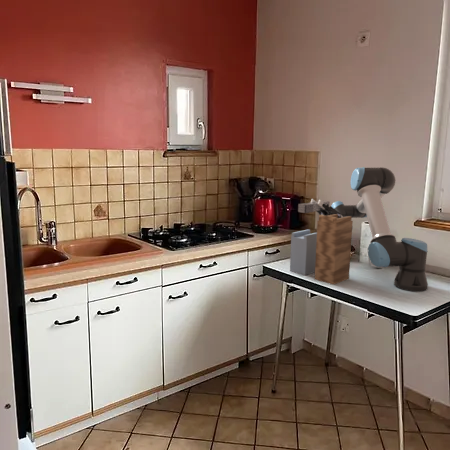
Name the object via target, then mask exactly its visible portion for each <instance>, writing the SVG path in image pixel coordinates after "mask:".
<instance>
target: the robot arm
mask: <svg viewBox="0 0 450 450" xmlns="http://www.w3.org/2000/svg"><path fill="white" fill-rule="evenodd" d="M395 186H396V177H395V173H393V171H392V170H391V169H389V168H386V167H383V166H382V167H364V166H363V167H356V168H355V169H354V170H353V171H352V173H351V176H350V187H351V189H352V190H353V191H356V193H357V196H358V197H360V198H361V199H360V200H359V201H358V203H357V204H355V205H354V204H353V205H351V204H348V205H347V204H344V202H343V201H340V200H339V201H338V200H337V201H334V202H333V203H332V204H331V206H330V205H329V204H327V205H326V204H324V203H323V202H322V201H323V200H321V199H318V201H316V200H315V199H314V198H311V201H310V202H309V203H311V202H318V205H319V206H320V207H321V208H322V209H325V210H319V211H316V213H317V214H318V216H319V215H324V216H328V215H333V214H338V218H342V217H347V216H351V217H352V219H353V218H355V219H357V218H358V219H359V218H361V219H364V218H367V222H368V226H369V229H370V233H371V237H372V238H371V240H370V244H369V245H368V248H367V250H368V251H367V255H368V258H369V260H370V262H371V263H372V265H374V266H376V267H377V268H380V267H381V268H387V267H388V268H391V267H399V268H398V271H397V273H396V275H395V278H394V281H393V285H394V287H396V288H398V289H401V290H404V291H408V292H410V291H411V292H424V291H426V290H428V286H429V283H428V280H427V276H426V275H427V274H426V266H427V257H428V256H427V255H428V243H427V242H425V241H423V240H421V239H420V240H419V239H416V238H410V237H402V238H401V241H397V238H396V235H394V234H392V233H391V230H390V226H389V223H388V222H389V221H388V219H387V216H386V212H385V209H384V206H383V202H382V197H384V196H385V195H386V194H387V195H388V194H389V193H390V192H391V191H392V190H393V189H394V188H395ZM353 229H354V227H353V225H352V230H353Z"/></svg>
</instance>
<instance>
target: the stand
mask: <svg viewBox="0 0 450 450" xmlns="http://www.w3.org/2000/svg"><path fill="white" fill-rule="evenodd" d="M353 221H354V220H353V218H352V217H351V216H347V217H342V218H338V214H333V215H328V216H324V215H323V214H321V215H319V214H318V220H317V227H316V233H317V242H316V262H315V272H314V280H315V281H320V282H322V283H327V284H329V283H330V285H336V284H339V283H342V282H344V281H346V280H349V279H350V269H351V268H350V267H351V252H352V251H351V250H352V238H353V237H352V234H353V229H352V226H353V223H354V222H353Z"/></svg>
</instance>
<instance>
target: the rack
mask: <svg viewBox="0 0 450 450" xmlns="http://www.w3.org/2000/svg"><path fill="white" fill-rule="evenodd" d="M316 242H317V232H313V233H311V229H305V230H299V231H295V232H291V236H290V256H289V257H290V259H289V260H290V261H289V272H292V273H297V274H299V275H302V276H303V275H304V276H307V275H311V274H313V273H314V274H315V262H316Z"/></svg>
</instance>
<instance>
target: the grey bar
mask: <svg viewBox="0 0 450 450" xmlns="http://www.w3.org/2000/svg"><path fill="white" fill-rule="evenodd" d="M321 201H322V202H323V203H324V204H326V205H327V204H329V206H330V201H327V200H321ZM310 202H311V201H310ZM310 202H305V203H304V202H303V203H298V205H297V212H298V213H301V214H302V213H303V214H308V213H314V212H317V211H319V210H325V209H322V208H321V207H320V206H319V205H318V201H316V202H311V203H310Z"/></svg>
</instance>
